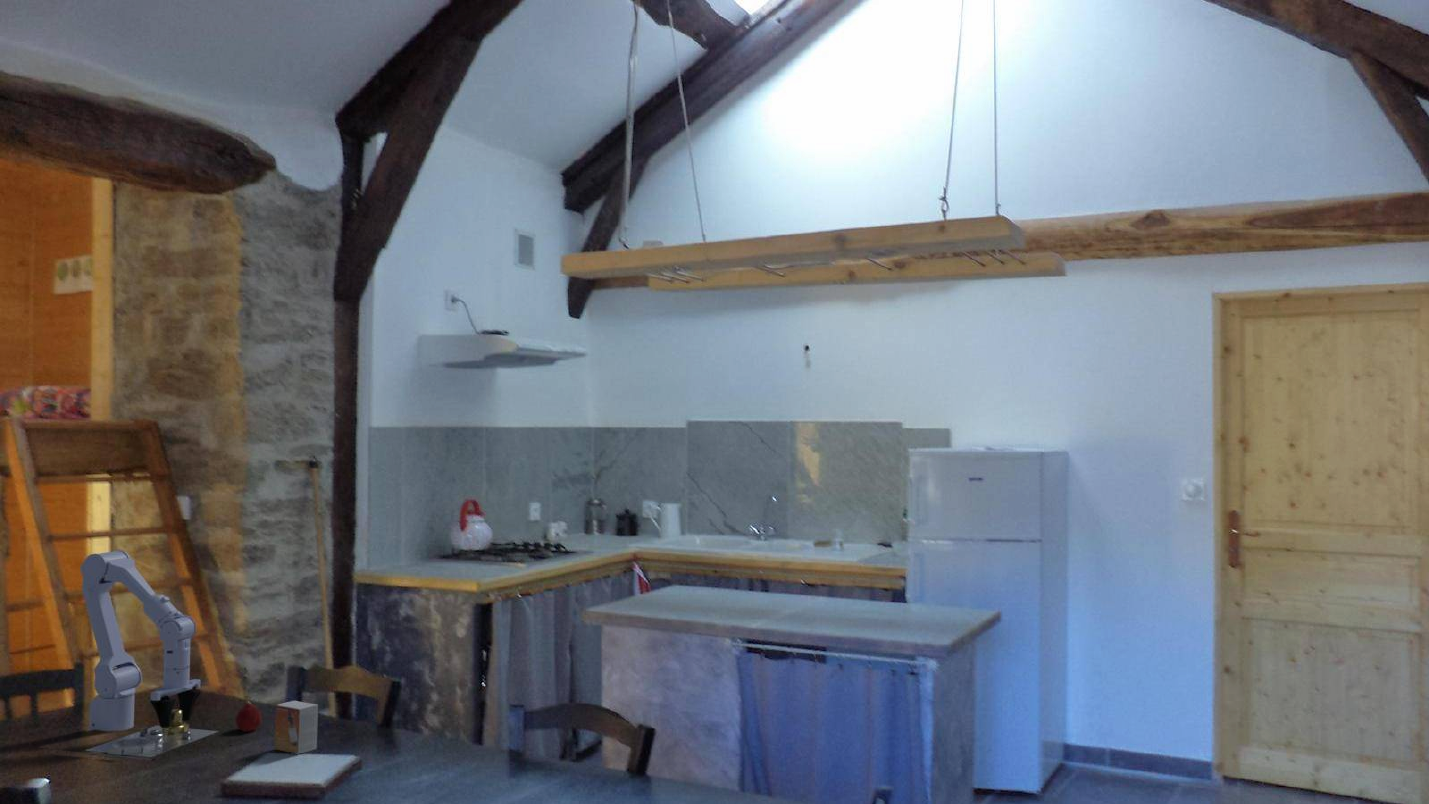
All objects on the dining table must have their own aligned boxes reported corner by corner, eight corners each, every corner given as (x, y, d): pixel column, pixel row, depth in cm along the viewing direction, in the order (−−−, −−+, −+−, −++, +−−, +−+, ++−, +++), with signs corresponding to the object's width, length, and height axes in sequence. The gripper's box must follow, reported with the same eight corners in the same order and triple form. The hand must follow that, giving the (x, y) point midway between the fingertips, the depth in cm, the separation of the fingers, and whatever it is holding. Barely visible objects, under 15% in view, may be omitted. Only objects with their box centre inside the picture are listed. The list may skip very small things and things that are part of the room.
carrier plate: (82, 755, 247) (82, 741, 247) (156, 729, 269) (156, 716, 269) (148, 762, 243) (149, 747, 243) (218, 735, 265) (219, 721, 265)
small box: (273, 750, 253) (275, 704, 253) (293, 744, 258) (294, 699, 258) (298, 755, 249) (299, 709, 250) (317, 749, 254) (318, 703, 255)
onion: (265, 731, 269) (266, 698, 269) (253, 737, 263) (254, 704, 263) (243, 730, 269) (244, 698, 269) (230, 736, 263) (231, 703, 264)
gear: (155, 733, 262) (156, 712, 262) (173, 727, 268) (174, 706, 268) (176, 735, 261) (177, 714, 261) (194, 729, 266) (194, 708, 267)
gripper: (168, 674, 257) (167, 732, 256) (211, 662, 271) (210, 717, 270) (143, 672, 258) (142, 730, 258) (187, 660, 272) (186, 715, 272)
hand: (175, 723), depth 264 cm, fingers open, 6 cm apart
